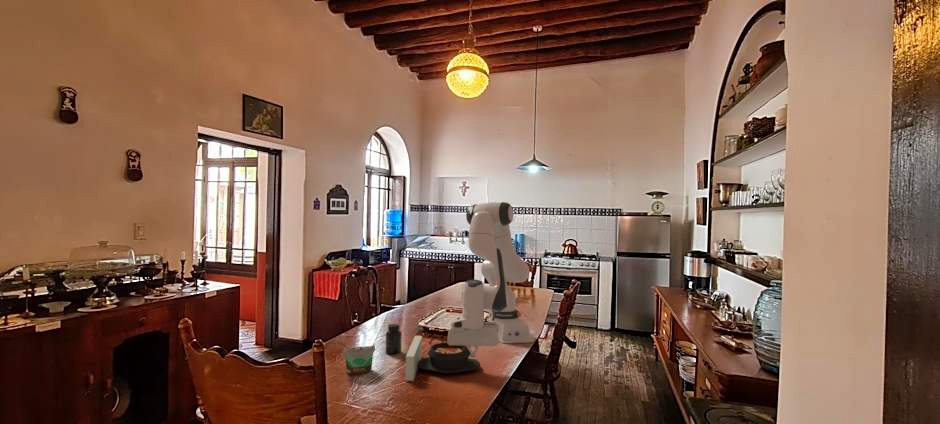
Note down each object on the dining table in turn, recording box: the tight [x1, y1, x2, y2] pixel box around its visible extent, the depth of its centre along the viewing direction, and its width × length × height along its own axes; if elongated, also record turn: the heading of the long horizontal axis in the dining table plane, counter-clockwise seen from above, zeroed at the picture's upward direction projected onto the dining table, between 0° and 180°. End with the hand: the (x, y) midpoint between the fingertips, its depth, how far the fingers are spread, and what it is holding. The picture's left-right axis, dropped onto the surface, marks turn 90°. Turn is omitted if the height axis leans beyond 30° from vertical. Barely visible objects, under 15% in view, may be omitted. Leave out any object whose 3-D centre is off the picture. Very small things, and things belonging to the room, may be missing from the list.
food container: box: [342, 343, 376, 377], centre depth 168 cm, size 12×6×10 cm, turn 117°
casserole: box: [418, 341, 481, 375], centre depth 174 cm, size 25×19×8 cm
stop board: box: [404, 335, 423, 382], centre depth 175 cm, size 3×26×9 cm, turn 0°
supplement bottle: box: [385, 323, 403, 356], centre depth 193 cm, size 7×7×12 cm
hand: (472, 356), depth 174 cm, fingers closed
